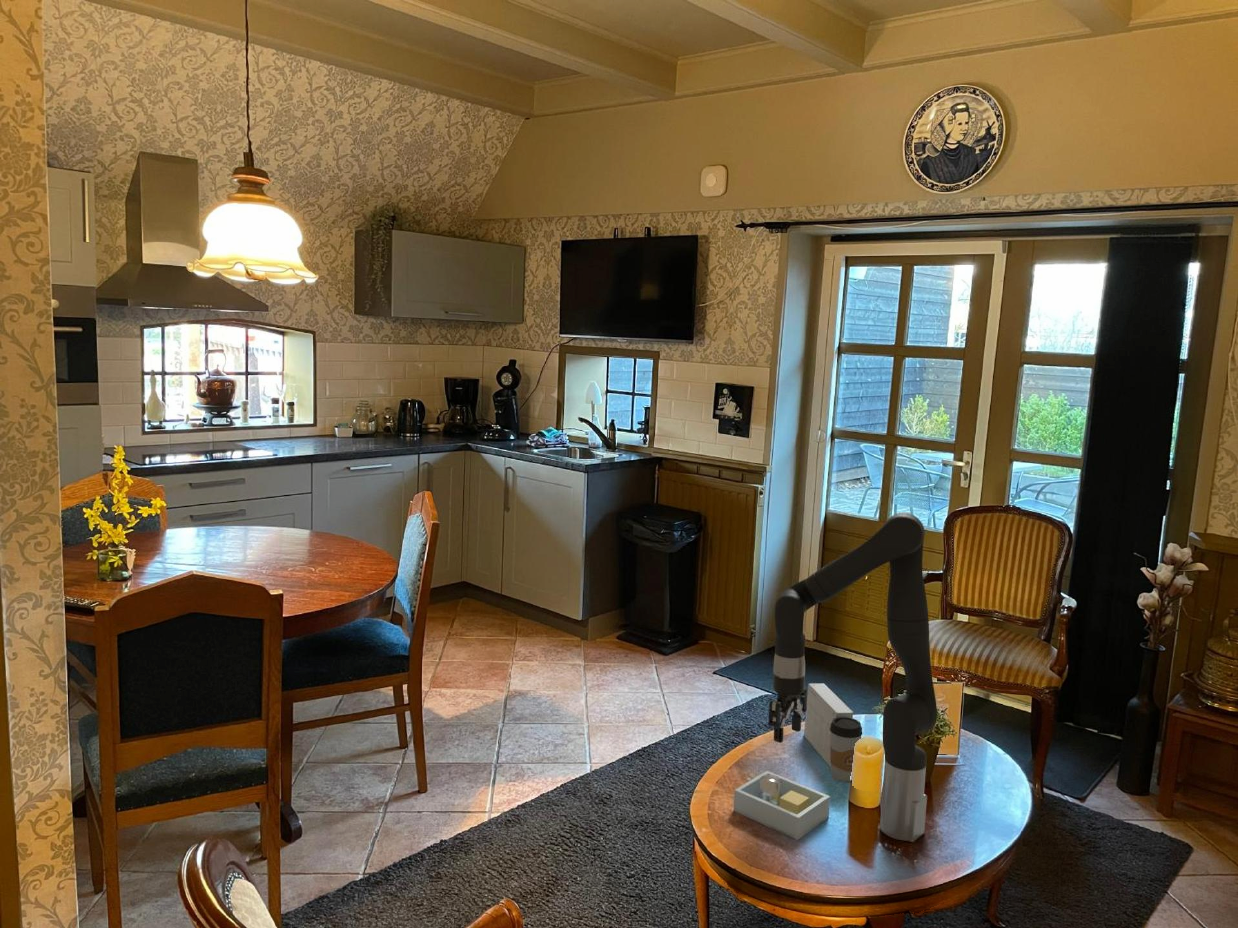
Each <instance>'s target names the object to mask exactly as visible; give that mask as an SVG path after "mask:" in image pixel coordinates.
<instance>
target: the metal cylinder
mask: <svg viewBox="0 0 1238 928" xmlns="http://www.w3.org/2000/svg"><path fill="white" fill-rule="evenodd" d="M780 790H781V779H780V778H779V777H777V776H775V775H763V776H761V778H760V793H759V798H760V799H762V800H765V801H767V802H769V803H771V804H774V805H776V806H778V807H779V805H780Z"/></svg>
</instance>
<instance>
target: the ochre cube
mask: <svg viewBox="0 0 1238 928" xmlns="http://www.w3.org/2000/svg"><path fill="white" fill-rule="evenodd" d="M779 807H781V808H783V809H785V810H788V811H790V812H792V813H794V814H799V813H800V812H802V811H803V810H805V809H806V808H808V807H809V797H806V796H804V795H801V794H799V793H796V792H794V791H789V792H788V793H786V794H785V795H783V796H782V797H780V805H779Z"/></svg>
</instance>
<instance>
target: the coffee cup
mask: <svg viewBox="0 0 1238 928" xmlns="http://www.w3.org/2000/svg"><path fill="white" fill-rule="evenodd" d="M861 724H862V723H861V722H860V720H857V719H855V718H848V717H837V718H834V719H833V721H832V723H831V725H830V731H831V745H830V762H831V768H830V774H831V777H832V778H833V779H834V780H835V779H836V781H838V782H841V781H842V783H850V782H849V781H850V776H851V772H852V763H853V755H854V746H855V743H856V742H857V741H858V740H859V739H861V740H862V735H863V727H862V725H861Z"/></svg>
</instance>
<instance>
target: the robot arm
mask: <svg viewBox="0 0 1238 928" xmlns="http://www.w3.org/2000/svg"><path fill="white" fill-rule="evenodd" d="M925 531H926V530H925V527H924V524H923V522H922V521H921V520H920V519H919V517H917V516H916V515H914V514H913V513H910V512H906V511H905V512H898V513H895V514H893V515H891V516H890V517H889V518H888V519H887V520H886V521H885V522H884V523H883V526H882V527H881V528H880V529H878V531H876V532H875V533H874V535H872V536H871V537H870V538H869V539H868V540H866V541H865V542H863V543H862V544H861V545H859V546H857V547H856V548H854V549H853V550H851V551H849V552H847V553H846V554H844V555H841V556H839V557H837V558H836V559H834V560H832V561H830V562H829V563H827V564H826V565H824V566H823V567H821V568H819V569H818V570H816V571H815V572H814V573H812V574H810V575H809V576H808V577H807V578H805V579H802V580H800V581H799V582H796V583H795V584H793V585H791V586H789V587H788V588H786V589H784V590H782V592H781V593H780V595H779V596H778V598H777V600H776V601H775V604H774V605H775V606H774V625H775V640H774V641H775V643H774V644H775V645H774V647H775V648H774V649H775V650H774V658H773V671H772V672H773V675H772V676H773V677H772V680H773V682H772V689H773V690H774V691H775V693H776V695H777V696H776V697H777V698H776V700H775V701H773V700H770V701H769V704H768V705H769V706H768V720H767V721H768V722H767V723H768V724H767V725H768V726H770V727H773V740H774V741H775V742H776V743H782V742H783V741H784V730H785V729H784V725H785V722H786V721H787V720H788V719H789V717H790V714H791V730H792V731H793V732H794V731H795V732H797V733H798V732H800V731H801V730H802V717H803V716H804V713H806V710H807V696H808V688H805V685H806V683H805V681H806V680H805V679H806V660H805V656H806V655H805V647H806V646H805V644H806V641H805V640H806V639H805V634H804V621H805V620H804V619H805V613H806V612H807V611H808V610H809V609H811V608H813V607H814V606H816V605H817V604H819V603H824V602H826V601H829V600H830V599H832V598H833V597H836V596H837V595H838V594H840V593H841V592H843V591H844V590H845V589H847V588H850V586H852V585H853V584H854V583H856V582H858V581H859V580H860V579H862V578H863V577H865V576H866V575H867V574H869V573H871V572H873V571H874V570H876V569H878V568H879V567H881V566H883V565H885V564H887V563H888V564H889V582H888V591H887V601H886V623H887V625H886V626H887V637H888V641H889V643H890V646H891V648H892V650H893V651H894V653H895V655H896V656H897V658H898V660H899V661H900V663H901V665H902V668H903V670H904V675H905V694H902V695H898V696H896V697H892V698H890V699H889V700H888V701H887V702H886V703H885V706H884V708H883V714H882V747H883V750H884V754H885V755H884V769H883V780H882V781H883V782H882V793H881V795H882V796H881V807H880V808H881V809H880V817H879V819H880V823H879V829H880V831H881V832H882V833H883V834H885V835H886V836H888V837H889V838H892V839H894V840H899V841H908V842H911V843H914V842H915V841H917V840H918V839H919V838H920V837H922V836H923V834H924V833H925V827H926V818H927V817H926V815H927V803H928V802H927V801H928V795H927V794H925V784H926V769H927V762H928V761H927V759H928V757H927V756H928V755H927V753H926V751H925V750H924V748H922V747H920V746H919V745H916V738H917V737H916V736H917V735H918V736H919V735H922V734H925V733H928V732H929V731H931V730H932V729H933V728H935V725H936V724H937V720H938V706H937V700H936V693H935V687H934V679H933V673H932V661H931V649H930V621H929V620H930V617H929V608H928V601H927V593H926V592H927V591H926V586H925V581H924V574H923V554H924V553H923V552H924V541H925V533H926V532H925Z"/></svg>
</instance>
